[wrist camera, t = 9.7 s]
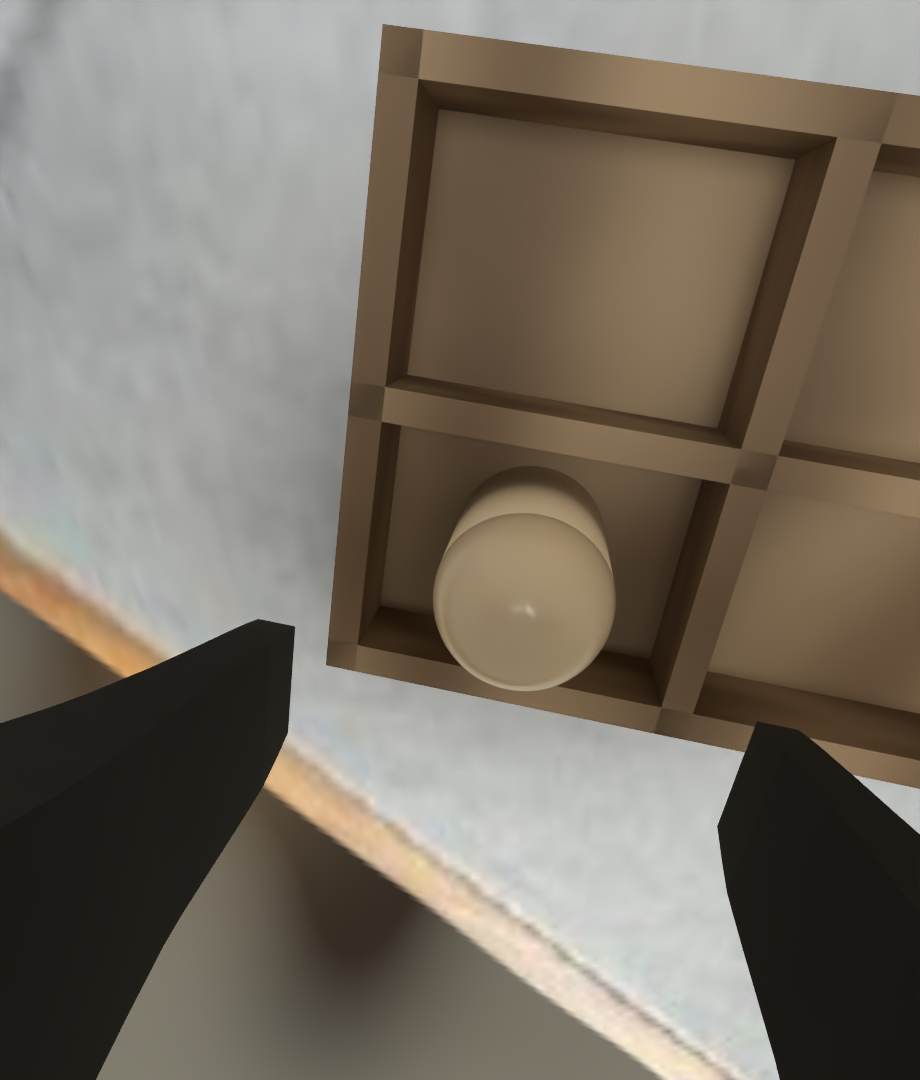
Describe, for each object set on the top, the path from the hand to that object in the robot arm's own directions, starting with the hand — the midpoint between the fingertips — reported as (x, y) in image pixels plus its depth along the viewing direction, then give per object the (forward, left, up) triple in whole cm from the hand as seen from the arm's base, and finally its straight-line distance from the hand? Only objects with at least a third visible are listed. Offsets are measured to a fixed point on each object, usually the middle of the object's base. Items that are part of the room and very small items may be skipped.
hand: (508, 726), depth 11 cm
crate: (+4, +3, -9) cm, 11 cm away
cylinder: (0, 0, -9) cm, 9 cm away
